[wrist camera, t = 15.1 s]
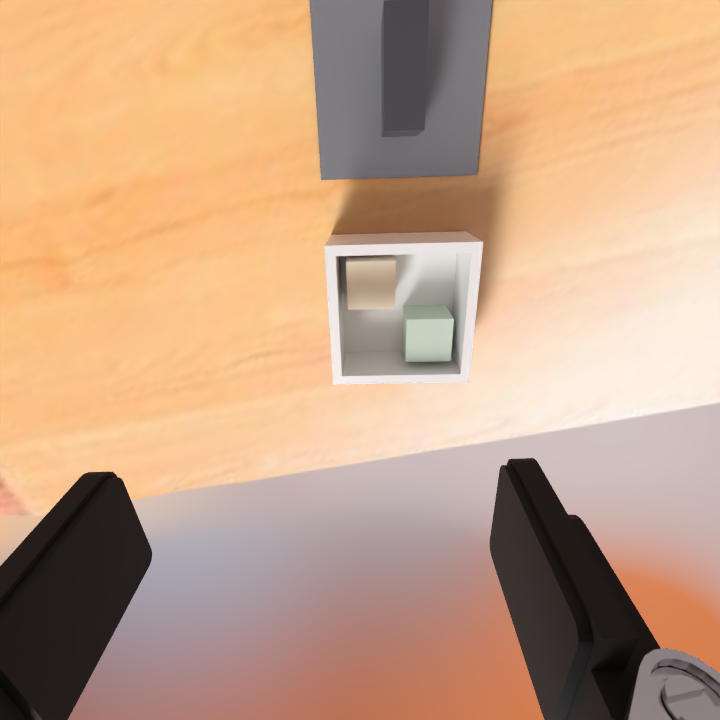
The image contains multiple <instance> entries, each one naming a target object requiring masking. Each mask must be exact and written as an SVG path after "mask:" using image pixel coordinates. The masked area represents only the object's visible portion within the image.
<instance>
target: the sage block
mask: <svg viewBox="0 0 720 720" xmlns="http://www.w3.org/2000/svg"><path fill="white" fill-rule="evenodd" d="M453 324H454V318H453V316H452V315H451V313H450V311H449V310H448V308H447V306H446V305H407V306H403V326H402V346H403V351H404V356H405V361H406V362H434V361H451V350H452V337H453Z"/></svg>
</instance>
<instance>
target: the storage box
mask: <svg viewBox="0 0 720 720" xmlns="http://www.w3.org/2000/svg"><path fill="white" fill-rule="evenodd" d="M482 251H483V241H481V240H480V239H478V238H476V237H475V236H473V235H471V234H469V233H468V232H466V231H454V232H416V233H377V234H338V235H330V237H329V239H328V241H327V242H326V244H325V261H326V277H327V293H328V308H329V324H330V340H331V356H332V372H333V384H385V383H446V382H469V378H470V369H471V359H472V349H473V339H474V329H475V320H476V310H477V300H478V290H479V280H480V270H481V261H482ZM362 255H394V257H395V260H396V278H395V309H358V310H348V303H347V279H346V259H347V256H362ZM407 305H446V306H447V308H448V310H449V311H450V313H451V315H452V316H453V318H454V324H453V337H452V350H451V361H434V362H406V361H405V356H404V351H403V346H402V326H403V306H407Z"/></svg>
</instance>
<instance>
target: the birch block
mask: <svg viewBox="0 0 720 720" xmlns="http://www.w3.org/2000/svg"><path fill="white" fill-rule="evenodd" d="M395 278H396V260H395V257H394V255H362V256H347V259H346V279H347V303H348V310H358V309H395Z"/></svg>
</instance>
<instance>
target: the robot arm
mask: <svg viewBox="0 0 720 720" xmlns="http://www.w3.org/2000/svg"><path fill="white" fill-rule="evenodd" d="M490 551H491V556H492V559H493V562H494V565H495V569H496V572H497V575H498V578H499V581H500V584H501V587H502V590H503V593H504V596H505V600H506V603H507V606H508V609H509V612H510V615H511V618H512V621H513V624H514V627H515V631H516V634H517V637H518V640H519V643H520V646H521V649H522V652H523V655H524V658H525V662H526V665H527V668H528V671H529V674H530V677H531V680H532V683H533V686H534V689H535V692H536V696H537V699H538V701H539V705H540V708H541V711H542V714H543V717H544V719H545V720H720V674H719V673H718V672H717V671H716V670H715V669H713V668H712V667H710V666H708V665H707V664H706V663H704V662H703V661H701V660H700V659H698V658H696V657H693V656H691V655H689V654H687V653H685V652H682V651H678V650H673V649H668V648H665V649H660V646H659V645H658V643H657V642H656V640H655V639H654V637H653V635H652V633H651V632H650V630H649V628H648V627H647V625H646V624H645V622H644V620H643V619H642V617H641V615H640V614H639V612H638V610H637V609H636V607H635V605H634V604H633V602H632V601H631V599H630V597H629V596H628V594H627V592H626V591H625V589H624V587H623V586H622V584H621V582H620V581H619V579H618V578H617V576H616V574H615V573H614V571H613V569H612V568H611V566H610V564H609V563H608V561H607V560H606V558H605V556H604V555H603V553H602V551H601V550H600V548H599V547H598V545H597V543H596V542H595V540H594V538H593V536H592V535H591V533H590V532H589V530H588V528H587V527H586V525H585V524H584V522H583V521H582V520H581V518H579V517H578V516H576V515H568V514H567V513H566V511H565V509H564V507H563V505H562V504H561V502H560V500H559V499H558V497H557V495H556V493H555V492H554V490H553V488H552V486H551V485H550V483H549V481H548V479H547V478H546V476H545V474H544V473H543V471H542V469H541V467H540V466H539V464H538V462H537V461H536V460H535V459H534V458H527V459H509V461H508V463H507V465H505V466H504V465H502V466H501V467H500V473H499V479H498V487H497V494H496V502H495V508H494V515H493V523H492V529H491V536H490ZM151 559H152V551H151V548H150V545H149V543H148V540H147V538H146V535H145V533H144V531H143V528H142V526H141V523H140V521H139V519H138V516H137V514H136V511H135V509H134V507H133V504H132V502H131V499H130V497H129V494H128V492H127V490H126V487H125V485H124V482H123V481H122V479H121V478H118V477H117V476H116V474H115V473H113V472H88V473H85V474H84V475H82V476H81V477H80V478H79V479H78V481H77V482H76V483H75V484H74V485H73V486H72V487H71V488H70V489H69V491H68V492H67V493H66V494H65V495H64V496H63V497H62V498H61V499H60V501H59V502H58V503H57V504H56V505H55V506H54V507H53V508H52V509H51V511H50V512H49V513H48V514H47V515H46V516H45V517H44V518H43V519H42V521H41V522H40V523H39V524H38V525H37V526H36V527H35V528H34V530H33V531H32V532H31V533H30V534H29V535H28V536H27V537H26V538H25V540H24V541H23V542H22V543H21V544H20V545H19V546H18V548H16V550H15V551H14V552H13V553H12V554H11V555H10V556H9V557H8V559H7V560H6V561H5V562H4V563H3V564H2V565H1V566H0V720H67V719H68V718H69V716H70V714H71V712H72V710H73V708H74V707H75V705H76V703H77V701H78V699H79V697H80V695H81V693H82V692H83V690H84V688H85V686H86V684H87V682H88V680H89V678H90V676H91V674H92V673H93V671H94V669H95V667H96V665H97V663H98V661H99V660H100V658H101V656H102V654H103V652H104V650H105V648H106V646H107V644H108V643H109V641H110V639H111V637H112V635H113V633H114V631H115V629H116V628H117V626H118V624H119V622H120V620H121V618H122V616H123V614H124V612H125V611H126V609H127V607H128V605H129V603H130V601H131V599H132V597H133V595H134V594H135V592H136V590H137V588H138V586H139V584H140V582H141V580H142V579H143V577H144V575H145V573H146V571H147V569H148V567H149V565H150V563H151Z"/></svg>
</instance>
